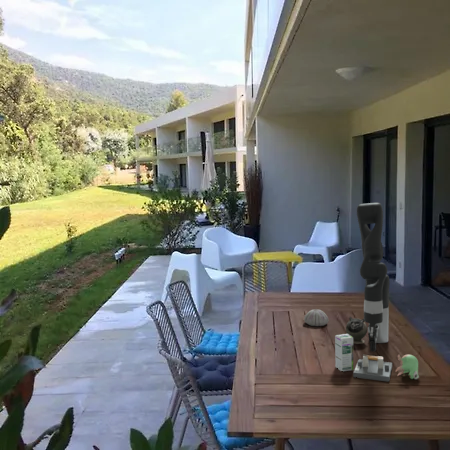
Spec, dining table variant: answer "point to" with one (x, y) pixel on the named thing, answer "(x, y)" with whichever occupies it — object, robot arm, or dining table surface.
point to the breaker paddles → (380, 359)
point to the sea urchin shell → (316, 318)
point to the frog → (408, 366)
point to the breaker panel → (373, 370)
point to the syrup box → (344, 352)
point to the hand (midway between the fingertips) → (373, 350)
